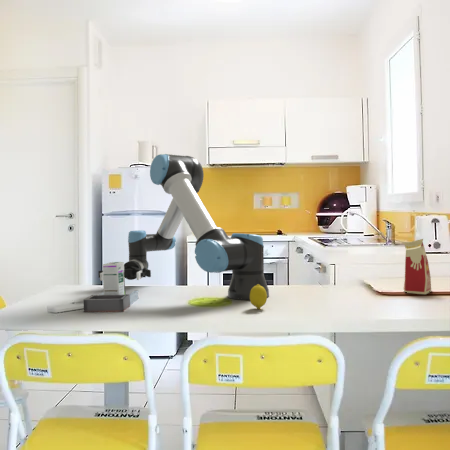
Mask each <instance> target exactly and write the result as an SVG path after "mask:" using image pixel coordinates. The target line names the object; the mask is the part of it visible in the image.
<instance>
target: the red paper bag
mask: <svg viewBox="0 0 450 450" xmlns="http://www.w3.org/2000/svg"><path fill="white" fill-rule="evenodd" d="M423 241H424V238H419V239H417V240H414V241H406V242H402V244H403V245H404V247H405V259H404V261H405V264H404V281H403V282H404V283H403V290H404V291H405V292H407V293H406V294H414V295H415V294H417V295H427V294H429V293H430V292H431V291H432V280H431V279H432V277H431V271H430V264H429V261H428V256H427V251H426V249H425V245H424V242H423ZM404 291H403V292H404ZM429 291H430V292H429ZM405 292H404V293H405Z"/></svg>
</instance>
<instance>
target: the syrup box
mask: <svg viewBox="0 0 450 450" xmlns="http://www.w3.org/2000/svg"><path fill="white" fill-rule="evenodd" d="M124 264H125V263H124V262H123V261H112V262H107V263H102V270H103V280H102V283H103V284H102V287H103V292H104V295H126V284H125V283H126V282H125V280H126V278H125V277H124Z"/></svg>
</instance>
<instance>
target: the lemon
mask: <svg viewBox="0 0 450 450" xmlns="http://www.w3.org/2000/svg"><path fill="white" fill-rule="evenodd" d="M267 299H268V297H267V293H266V290H265V288H264V287H262V286H260V285H259V284H257V285H256V286H254V287H253V288H252V289H251V291H250V300H249V301H250V303H251V305H252V306H254V307H255V308H256V309H257V310H259V309H261V308H262V307H263V306H265V305H266V303H267Z"/></svg>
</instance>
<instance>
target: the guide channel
mask: <svg viewBox="0 0 450 450" xmlns="http://www.w3.org/2000/svg"><path fill="white" fill-rule="evenodd" d="M98 295H104V291H102V292H100V293H98ZM128 295H130V306H131V305H132V304H133V303H135V302H136V301H137V300H138V299H139V290H134V291H131V292H130V293H129V294H128Z"/></svg>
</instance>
